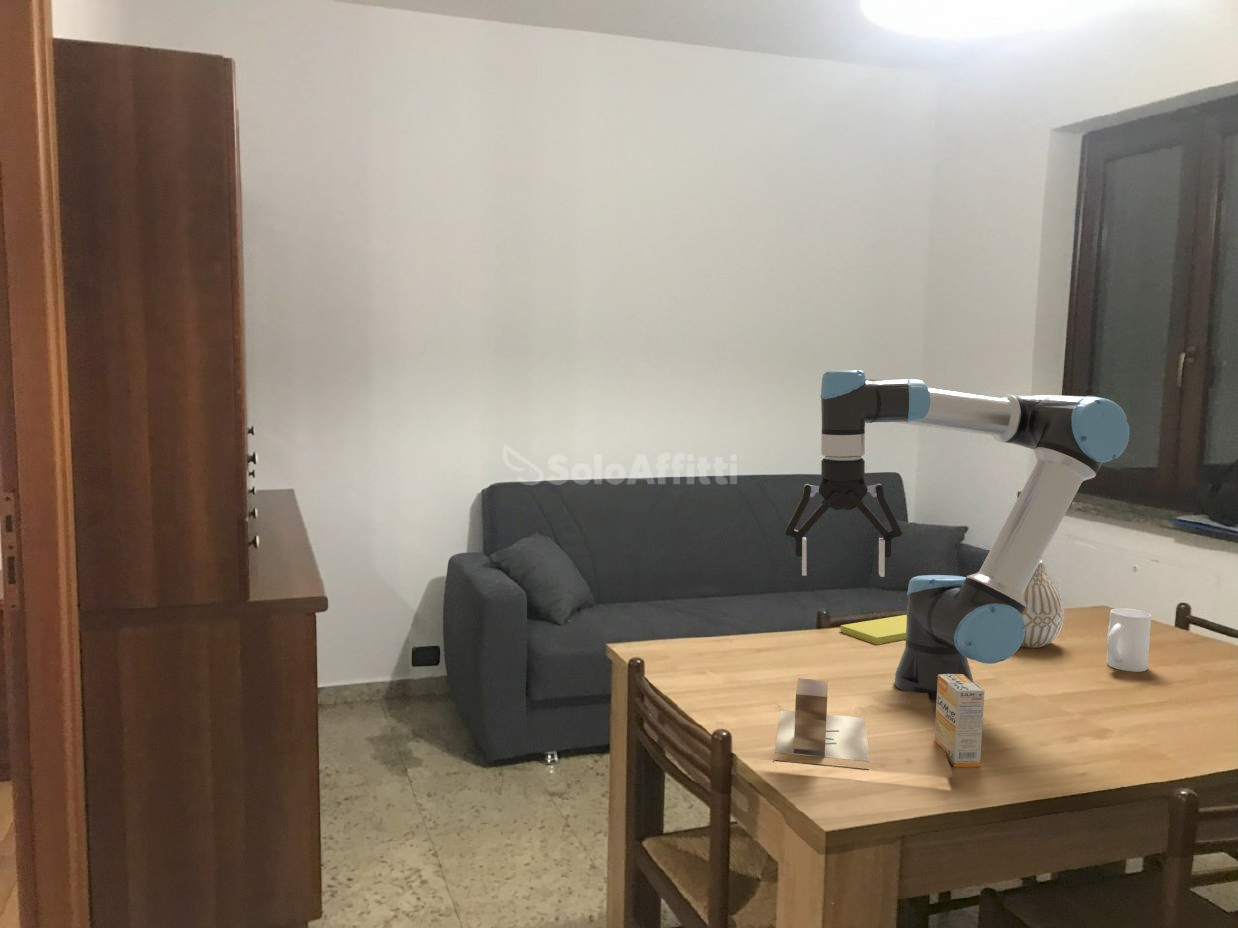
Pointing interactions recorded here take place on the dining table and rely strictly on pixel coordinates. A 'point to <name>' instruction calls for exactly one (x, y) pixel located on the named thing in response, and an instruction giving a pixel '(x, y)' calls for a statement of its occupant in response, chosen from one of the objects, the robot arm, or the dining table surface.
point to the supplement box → (959, 719)
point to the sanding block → (810, 717)
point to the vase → (1041, 610)
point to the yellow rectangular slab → (878, 629)
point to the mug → (1128, 639)
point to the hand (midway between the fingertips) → (842, 574)
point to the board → (828, 738)
